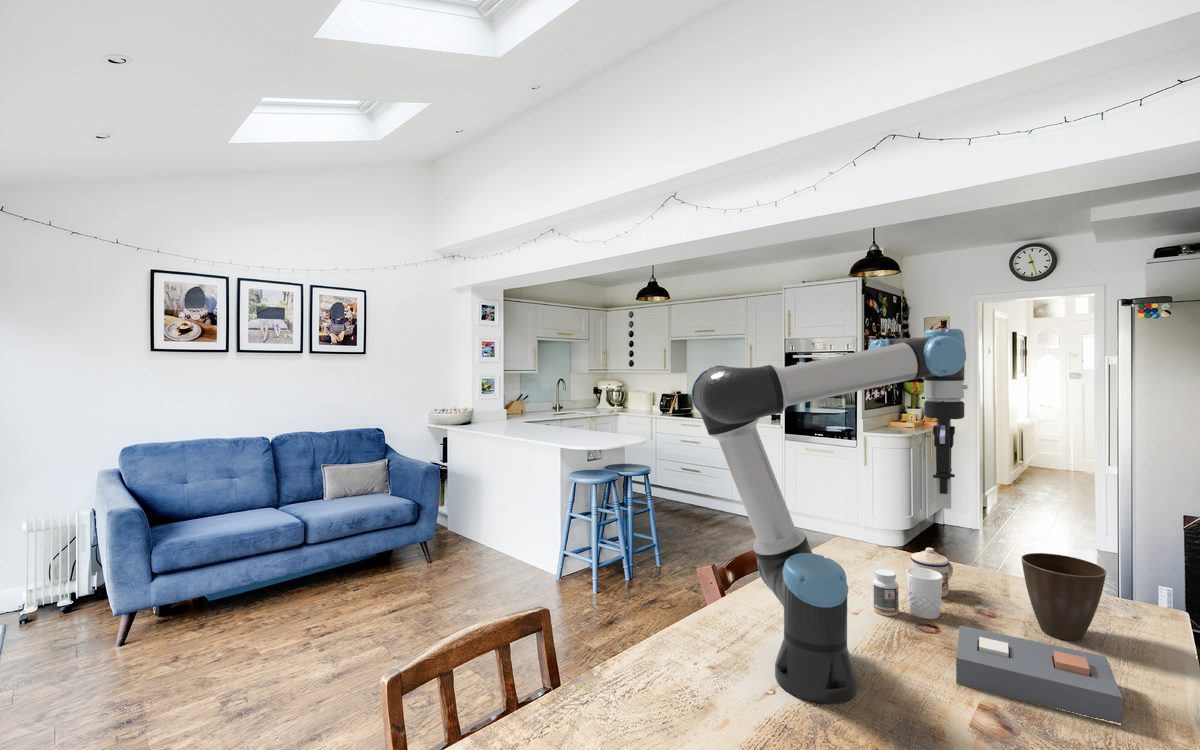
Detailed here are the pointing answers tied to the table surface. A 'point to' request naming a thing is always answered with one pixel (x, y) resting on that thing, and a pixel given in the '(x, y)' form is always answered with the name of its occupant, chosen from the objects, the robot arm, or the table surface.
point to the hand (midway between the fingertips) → (943, 507)
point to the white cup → (924, 592)
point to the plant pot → (1063, 593)
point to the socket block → (1038, 675)
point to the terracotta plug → (1071, 663)
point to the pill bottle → (885, 593)
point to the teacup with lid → (934, 565)
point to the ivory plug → (993, 647)
